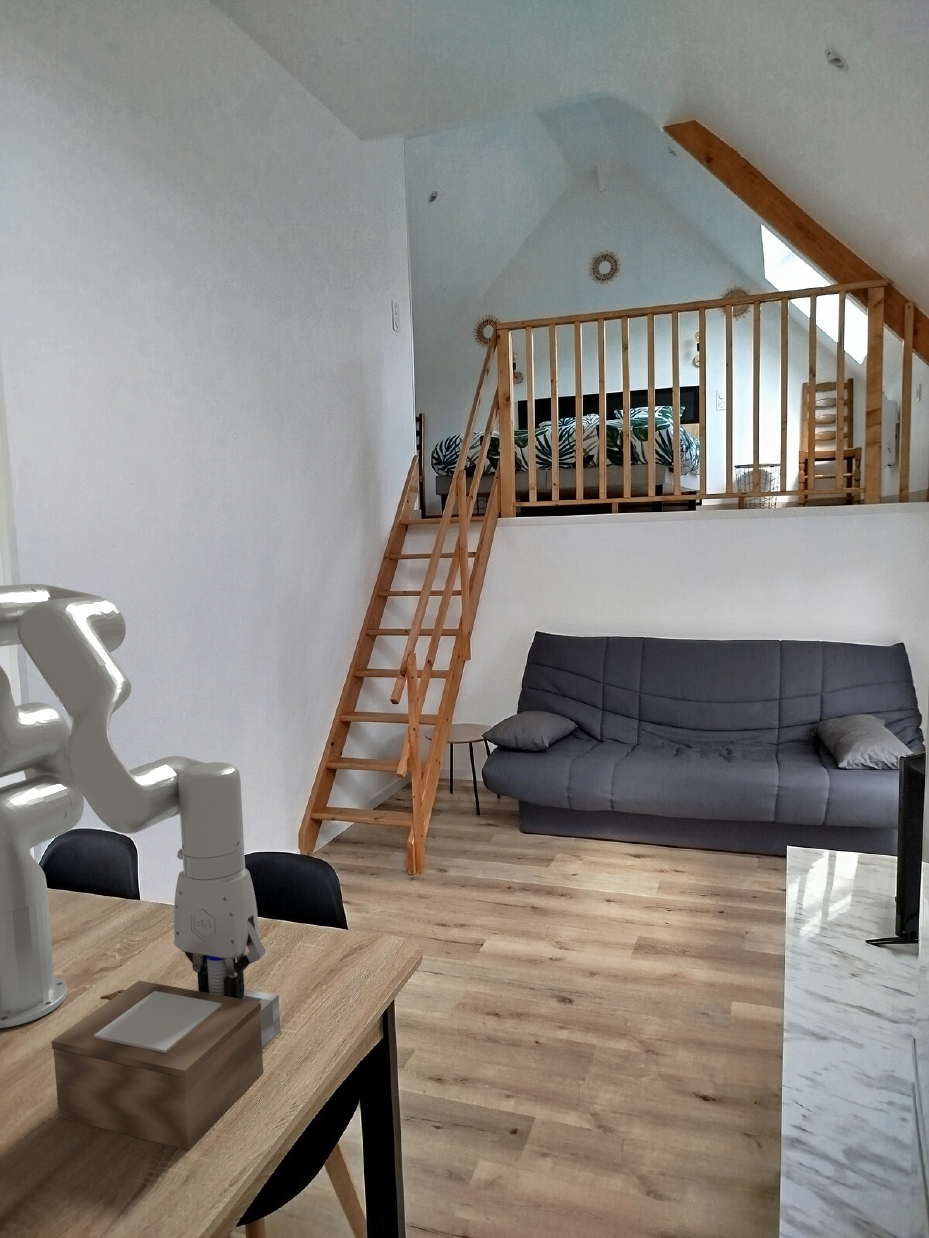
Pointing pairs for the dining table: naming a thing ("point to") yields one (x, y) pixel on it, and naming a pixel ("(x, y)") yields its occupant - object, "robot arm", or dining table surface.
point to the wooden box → (164, 1068)
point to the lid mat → (158, 1021)
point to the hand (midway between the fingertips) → (221, 998)
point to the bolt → (216, 974)
